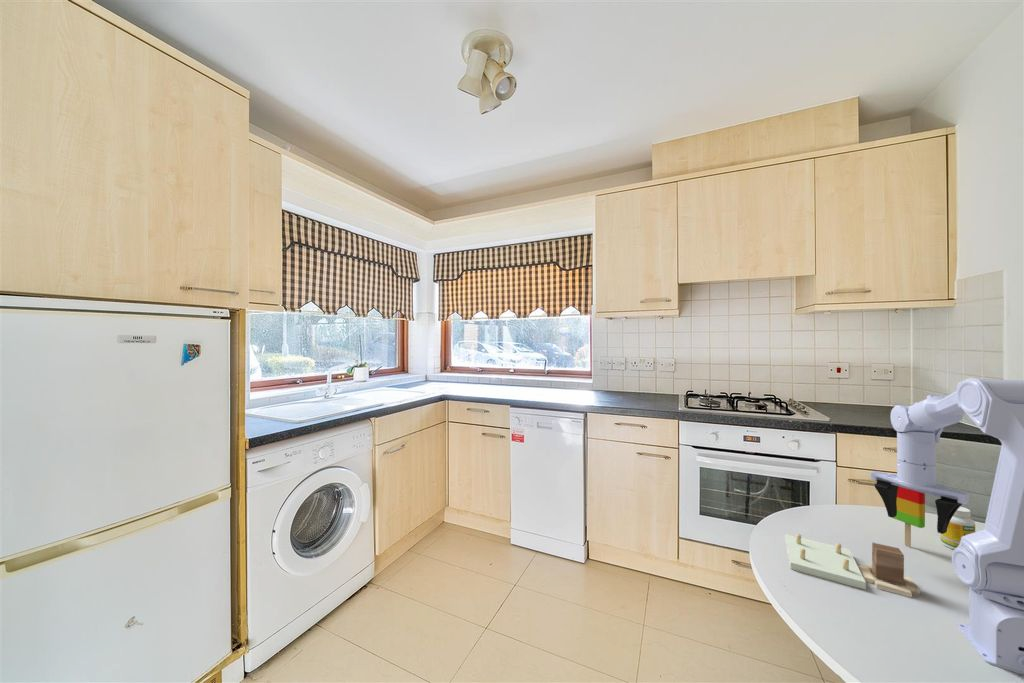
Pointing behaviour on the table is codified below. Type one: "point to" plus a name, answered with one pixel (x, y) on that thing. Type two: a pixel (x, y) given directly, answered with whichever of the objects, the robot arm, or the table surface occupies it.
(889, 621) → the table surface
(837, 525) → the table surface
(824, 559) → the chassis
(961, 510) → the supplement bottle
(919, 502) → the popsicle
